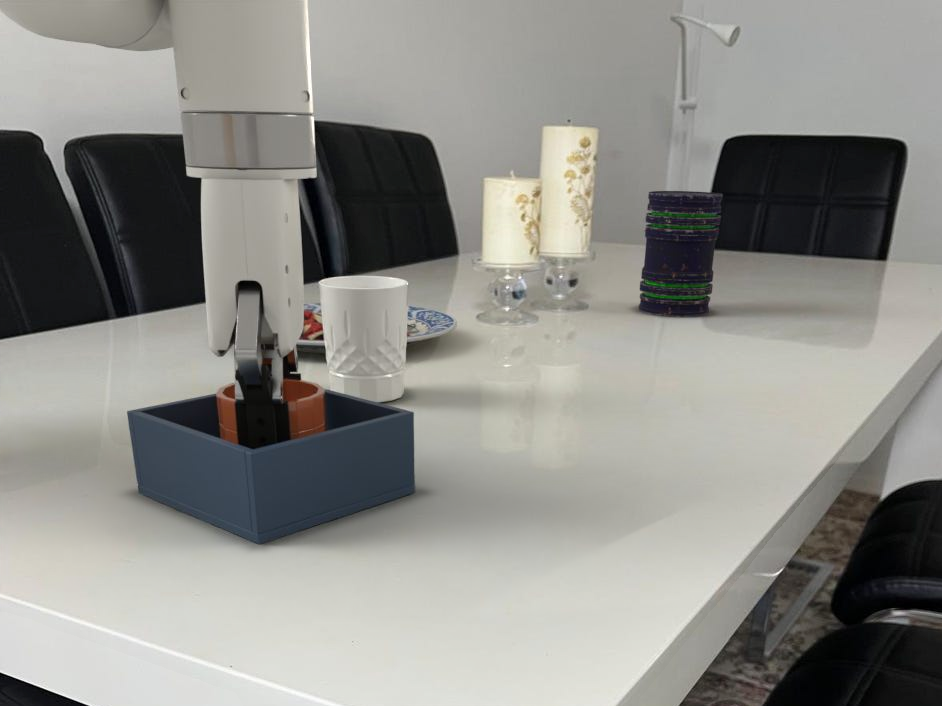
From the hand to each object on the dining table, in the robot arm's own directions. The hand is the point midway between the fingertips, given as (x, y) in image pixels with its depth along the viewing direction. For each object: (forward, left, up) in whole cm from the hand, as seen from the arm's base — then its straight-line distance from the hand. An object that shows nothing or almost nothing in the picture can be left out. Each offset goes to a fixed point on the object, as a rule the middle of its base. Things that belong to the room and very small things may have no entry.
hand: (274, 445), depth 66 cm
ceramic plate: (-37, +39, -4) cm, 54 cm away
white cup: (-16, +23, -4) cm, 28 cm away
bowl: (0, 0, -1) cm, 1 cm away
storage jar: (-22, +86, -4) cm, 89 cm away
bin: (0, 0, -3) cm, 3 cm away
